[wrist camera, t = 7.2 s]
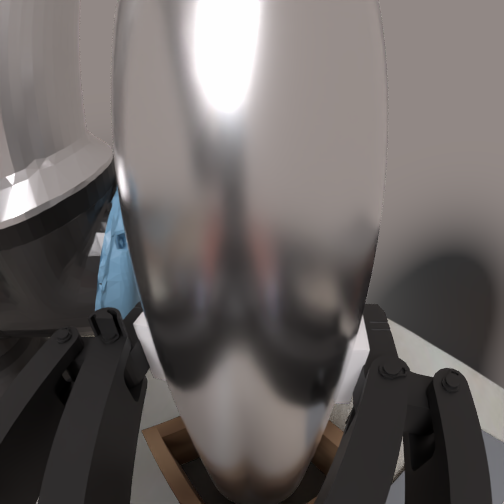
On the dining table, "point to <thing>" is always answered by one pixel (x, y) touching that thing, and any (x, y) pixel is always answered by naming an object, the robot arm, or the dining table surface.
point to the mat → (500, 469)
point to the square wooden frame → (182, 451)
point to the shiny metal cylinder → (251, 214)
